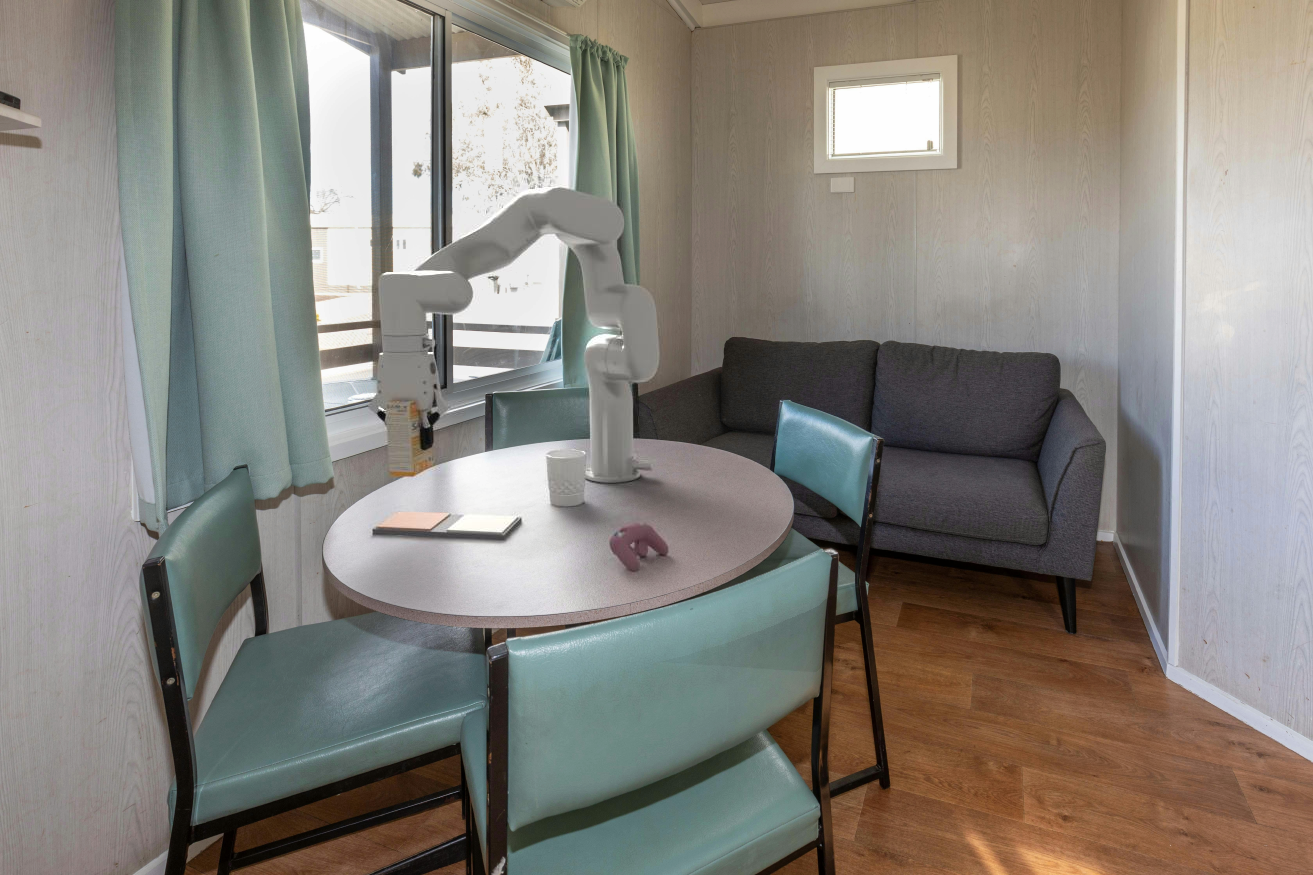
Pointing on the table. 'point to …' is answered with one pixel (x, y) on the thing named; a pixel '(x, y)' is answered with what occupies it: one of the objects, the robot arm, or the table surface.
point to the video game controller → (636, 543)
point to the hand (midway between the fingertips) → (411, 447)
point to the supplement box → (406, 440)
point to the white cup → (566, 476)
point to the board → (449, 525)
